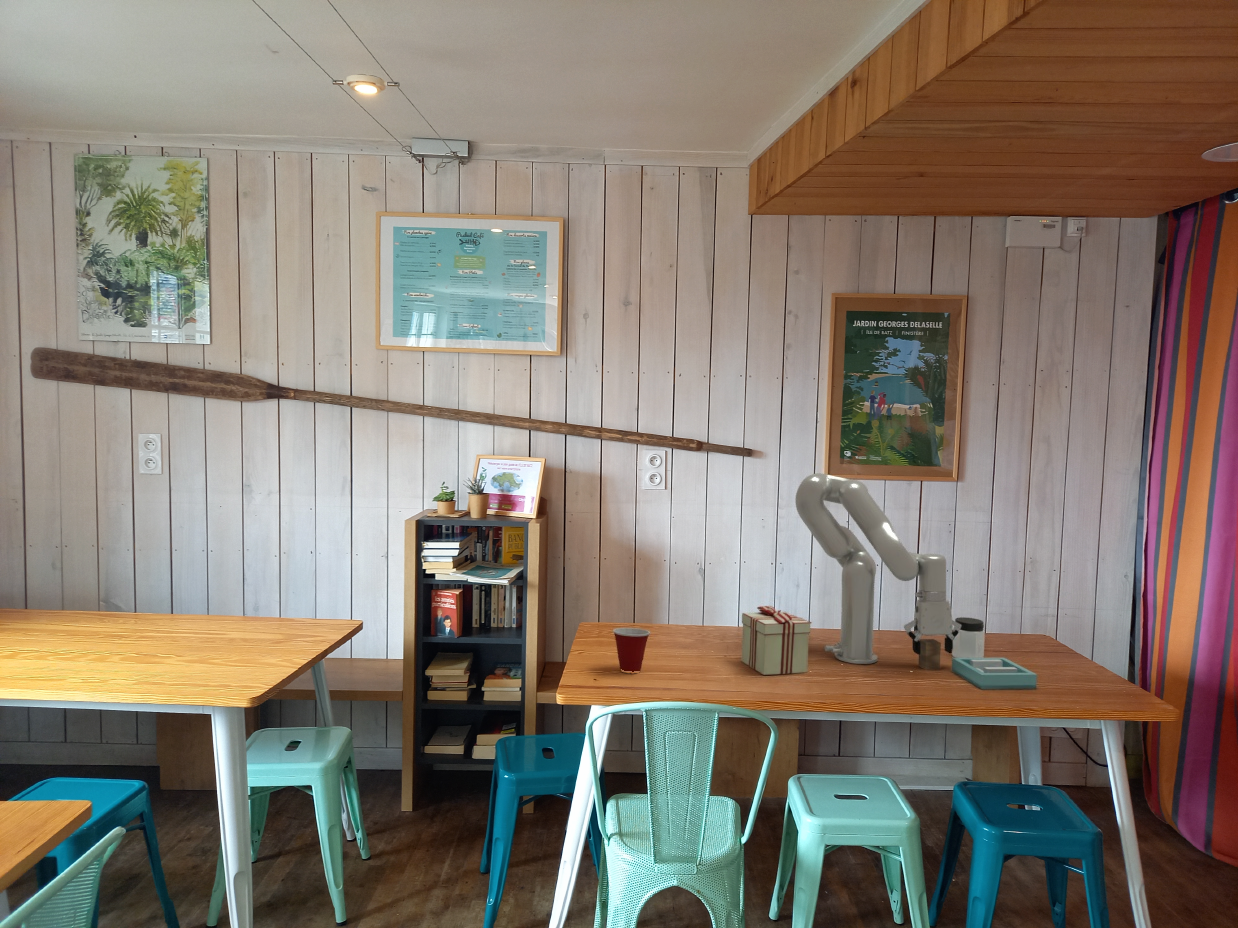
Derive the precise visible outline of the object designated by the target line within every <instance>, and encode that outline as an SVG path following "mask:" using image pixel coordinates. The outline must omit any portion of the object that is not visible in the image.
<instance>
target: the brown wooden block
mask: <svg viewBox="0 0 1238 928" xmlns="http://www.w3.org/2000/svg"><path fill="white" fill-rule="evenodd" d="M919 641H920V642H921V654H920V655H918V660H917V661H918V662H917V665H918V666H919V667H921V668H922V669H923V670H928V671H931V670H932V671H934V670H935V671H936V670H941V652H942V651H941V647H942V646H941V645H942V643H941V642H940V641H938V640H937V639H935V638H920V639H919Z"/></svg>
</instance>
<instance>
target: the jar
mask: <svg viewBox="0 0 1238 928" xmlns="http://www.w3.org/2000/svg"><path fill="white" fill-rule="evenodd" d="M954 621H955V622H957V623H959V624H961V628H960V630H959V633H958V634H957V636H956V637H955V639H954V640H953V650H952V653H951V655H952V658H985V657H984V656H985V639H986V637H985V633H986V631H985V630H984V627H985V626H984V621H983V620H981V619H980V618H974V617H966V616H965V617H964V616H963V617H962V616H961V617H956V618H955V620H954ZM953 629H954V626H953Z"/></svg>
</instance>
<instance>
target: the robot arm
mask: <svg viewBox="0 0 1238 928" xmlns="http://www.w3.org/2000/svg"><path fill="white" fill-rule="evenodd" d="M794 500H795V501H794V502H795V507H796V510H797V513H798V516H799V518H800V519H801V521H802V522H803V524H805V527H807V529H808V530H809V531H810V533H811V534H812V536H813V537H814V538H815V540H816V541H817V543H818V544H819V545H820V547H821V548H822V550H823V551H824V553H825V554H826V555H827V556H829V557H830V558H833V559H835V560H836V562H837V563H838V564H839V565H840V566H841V568H842V570H841V613H840V614H841V616H840V617H841V619H840V620H841V621H840V622H841V624H840V641H837V643H836V644H834V645H832V644H831V645H830V644H825V645H824V651H825V652H831V654H834V657H835V658H836V659H837V660H839V661H841V662H845V663H848V664H849V663H850V664H856V665H857V664H858V665H869V664H871V665H872V664H874V663H876V662H877V661H878V655H876V654H875V653H874V652H873V646H874V645H873V642H874V639H873V638H874V614H875V613H874V612H875V610H874V609H875V608H874V607H875V605H874V604H875V581H876V580H875V579H876V574H877V573H876V572H877V565H876V562H875V560H874V558H873V557H872V556H871V554H870V553H869V552H868V550H867V549H866V547H864V545H863V544H862V542H861V541H860V540H859V539H858V537H857V536H856V535H855V534H854V532H852V530H851V529H849V528H848V527H846V526H843V525H841V524H840V523H839V521H838V520H837V519H836V518H835V517H834V515H833V514H832V512H831V511H830V510H829V509H828V508H827V506H826V505H825V502H830V503H834V504H840V505H842V506H843V508H844V509H845V511H846V512H847V513H848V514H849V516H850V517H851V519H853V521H854V522H855V523H856V525H857V526H858V528H859V529H860V530H861V532H862V533H863V534H864V536H865V537H866V540H867V541H868V543H870V545H871V546H872V547H873V549H874V550H875V552H876V554H877V556H879V558H880V559H881V561H882V562H883V563H884V565H885V566H886V567H887V568H888V570H889V571H890V572H891V574H892V575H893V576H894V577H895V578H896V579H898V580H899V581H903V582H909V581H910V582H911V581H912V580H914V579H915V578H916V577H917V576H918V591H917V592H914V597H916V598H918V599H917V600H916V604H915V608H914V618H913V620H911V621H910V622H908V623H906V624H904V625H903V628H904V631H905V632H906V635H907V636H908V637H910V639H911V640H912V651H913V652H914V653H915V654H916V655H918V656H919V655H920V654H921V642H920V641H919V639H922V636H929V637H930V636H945V637H944V651H945V652H946V653H948V654H952V652H953V640H954V639H955V637H956V636H957V634H958V633H959V630H960V628H961V624H959V623H957V622H955V620H953V615H952V608H951V603H950V601H949V600H947V558H946V557H945V556H944V555H942V554H937V553H927V554H926V553H925V554H922V553H916V552H910V551H908V549H906V547H905V546H904V545H903V543H902V542H901V540H900V539H899V537H898V536H897V533H896V532H895V531H894V530H895V529H894V528H893V525H892V523H891V521H890V520H889V517H888V516H887V515H886V514H885V512H884V511H883V510H882V509H881V507H880V506H879V505H878V503H876V501H875V499H874V498H873V497H872V495H871V494H870V492H869V490H868V487H867V485H866V484H865V483H863V482H862V481H860V480H857V479H850V478H845V477H840V476H836V475H831V474H826V473H820V472H819V473H813V474H810V475H808V476H806V477H805V478H804V479H803V480H802V481H801V482H800V484H799V486H798V488H797V491H796V494H795V499H794ZM824 501H825V502H824ZM953 627H954V629H953ZM912 628H914V632H912V631H913V630H912Z"/></svg>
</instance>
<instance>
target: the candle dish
mask: <svg viewBox="0 0 1238 928" xmlns="http://www.w3.org/2000/svg"><path fill="white" fill-rule="evenodd" d="M951 672H952V673H954V674H955V675H957V676H959V677H960V678H962V679H963V680H965V681H967V682H968V683H970V684H972V685H974V686H975V687H977V688H978V689H980V690H1036V689H1037V687H1038V685H1037V684H1038V683H1037V682H1038V681H1037V679H1038V674H1037V673H1036V672H1033V671H1031V670H1029V669H1027V668H1025V667H1023V666H1021V665H1020V664H1017V663H1016V662H1013V661H1012V660H1010V659H1007V658H1006V657H984V658H955V657H951Z"/></svg>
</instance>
